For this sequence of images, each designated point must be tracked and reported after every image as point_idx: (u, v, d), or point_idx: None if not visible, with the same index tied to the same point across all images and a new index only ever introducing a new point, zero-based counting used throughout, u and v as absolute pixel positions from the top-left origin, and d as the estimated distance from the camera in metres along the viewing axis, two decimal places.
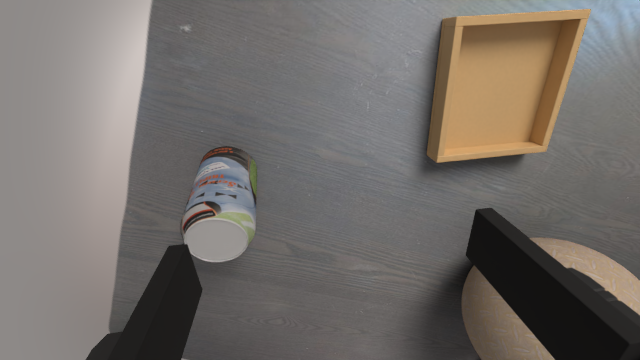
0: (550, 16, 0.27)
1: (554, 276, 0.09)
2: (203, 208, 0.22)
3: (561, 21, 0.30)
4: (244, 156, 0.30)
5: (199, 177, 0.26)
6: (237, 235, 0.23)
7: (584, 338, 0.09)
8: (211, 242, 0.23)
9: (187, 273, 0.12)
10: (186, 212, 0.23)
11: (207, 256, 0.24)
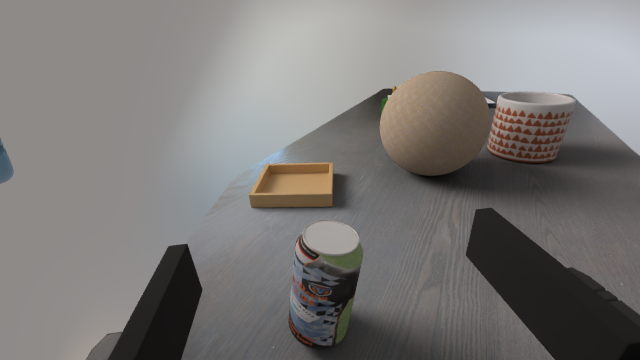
0: (263, 172, 0.59)
1: (554, 276, 0.09)
2: (297, 244, 0.25)
3: (270, 173, 0.62)
4: None
5: (295, 298, 0.26)
6: (327, 225, 0.26)
7: (584, 338, 0.09)
8: (330, 238, 0.24)
9: (187, 273, 0.12)
10: (301, 260, 0.24)
11: (349, 246, 0.24)
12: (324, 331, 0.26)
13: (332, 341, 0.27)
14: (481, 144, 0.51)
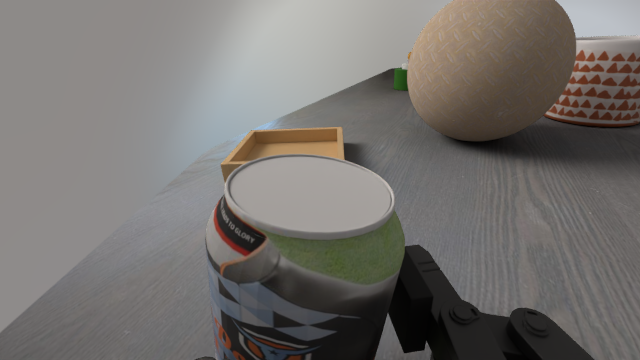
0: (246, 138, 0.42)
1: None
2: (213, 210, 0.08)
3: (256, 143, 0.46)
4: None
5: None
6: (305, 164, 0.10)
7: (398, 300, 0.10)
8: (310, 191, 0.08)
9: None
10: (212, 255, 0.07)
11: (366, 212, 0.07)
12: None
13: None
14: (564, 88, 0.34)
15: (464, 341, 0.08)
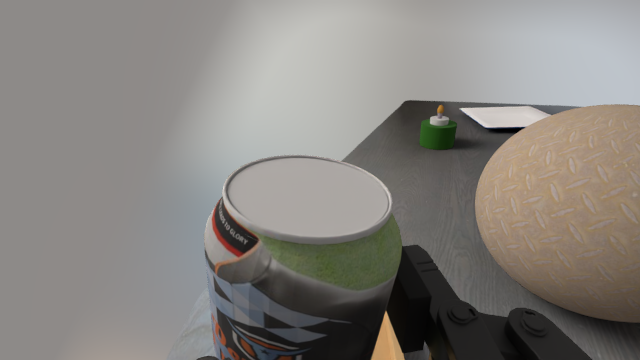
0: None
1: None
2: (213, 209, 0.09)
3: None
4: None
5: (215, 355, 0.10)
6: (306, 165, 0.10)
7: (396, 300, 0.10)
8: (307, 194, 0.08)
9: None
10: (208, 254, 0.07)
11: (361, 217, 0.07)
12: None
13: None
14: None
15: (462, 341, 0.08)
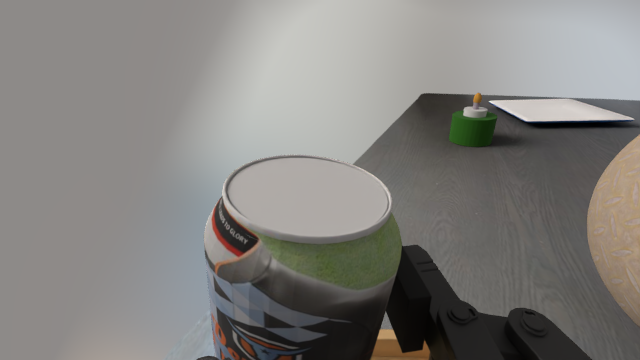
0: None
1: None
2: (213, 209, 0.09)
3: None
4: None
5: (215, 355, 0.10)
6: (306, 165, 0.10)
7: (396, 300, 0.10)
8: (306, 194, 0.08)
9: None
10: (208, 254, 0.07)
11: (361, 216, 0.07)
12: None
13: None
14: None
15: (462, 341, 0.08)
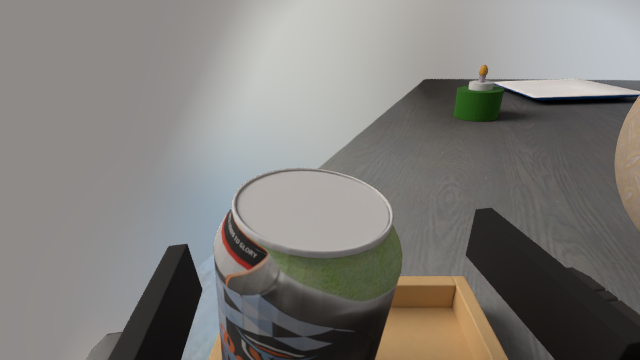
0: None
1: (554, 276, 0.09)
2: (222, 222, 0.09)
3: None
4: None
5: None
6: (310, 179, 0.10)
7: (584, 338, 0.09)
8: (312, 208, 0.09)
9: (187, 273, 0.12)
10: (218, 266, 0.08)
11: (364, 230, 0.08)
12: None
13: None
14: None
15: None
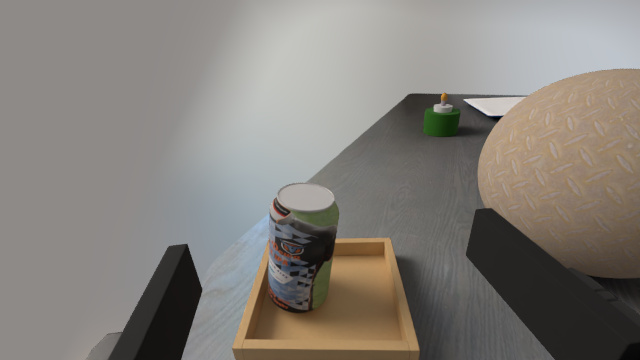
0: (264, 263, 0.31)
1: (554, 276, 0.09)
2: (272, 203, 0.25)
3: None
4: None
5: (270, 259, 0.26)
6: (304, 187, 0.26)
7: (584, 338, 0.09)
8: (305, 198, 0.24)
9: (187, 273, 0.12)
10: (273, 217, 0.23)
11: (322, 205, 0.23)
12: (299, 294, 0.25)
13: (308, 305, 0.26)
14: None
15: None
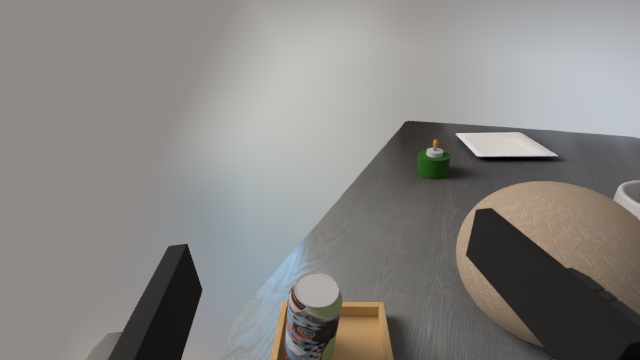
0: (280, 327, 0.38)
1: (554, 276, 0.09)
2: (290, 294, 0.32)
3: None
4: None
5: (288, 335, 0.33)
6: (315, 277, 0.33)
7: (584, 338, 0.09)
8: (316, 291, 0.31)
9: (187, 273, 0.12)
10: (292, 308, 0.30)
11: (329, 299, 0.30)
12: None
13: None
14: None
15: None
